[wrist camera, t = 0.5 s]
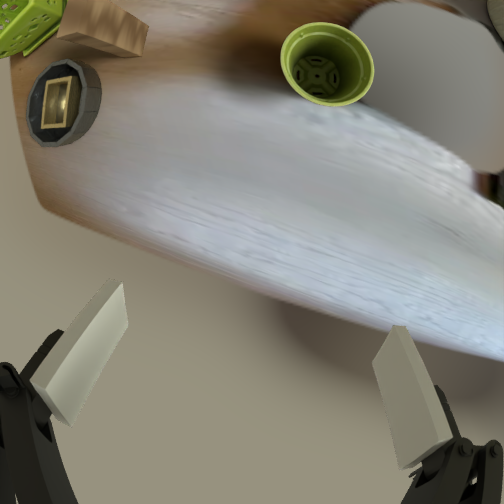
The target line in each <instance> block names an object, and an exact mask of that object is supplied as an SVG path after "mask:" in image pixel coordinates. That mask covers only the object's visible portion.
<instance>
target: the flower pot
mask: <svg viewBox="0 0 504 504" xmlns="http://www.w3.org/2000/svg"><path fill="white" fill-rule="evenodd" d="M67 2H68V0H0V25H2V26H3V29H1V30H0V59H1V58H5V57H8V56H11V55H14V54H16V53H19V52H21V51H23V55H24V56H27V55H29V54H30V53H31V52H32V51H34V50H35V49H36V48H37V47H38V46H39V45H41V44H42V43H43V42H44V41H45V40H46V39H48V38H49V37H50V36H51V35H53V34H54V33H55V32H56V31H57V30H59V26H60V23H61V20H62V17H63V13H64V11H65V8H66V5H67ZM4 4H7V5H8V6H7V7H5V8H4V9H3V8H2V6H3V5H4ZM13 5H17V6H18V7H17V8H15V9H14V10H12V9H10V8H11V7H12V6H13ZM3 15H4V16H3ZM6 19H7V20H9V23H7V22H5V20H6Z"/></svg>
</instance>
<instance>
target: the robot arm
mask: <svg viewBox="0 0 504 504" xmlns="http://www.w3.org/2000/svg"><path fill="white" fill-rule="evenodd" d="M127 327H128V320H127V313H126V307H125V299H124V291H123V283H122V282H121V281H116V280H112V279H108V280H107V281H106V283H105V284H104V285H103V286H102V287H101V288H100V290H99V291H98V292H97V293H96V294H95V295H94V296H93V298H92V299H91V300H90V301H89V302H88V304H87V305H86V306H85V307H84V308H83V310H82V311H81V312H80V313H79V314H78V316H77V317H76V318H75V320H74V321H73V322H72V323H71V325H70V326H69V327H68V328H67V330H66V331H65V332H64V331H62V330H59V329H58V330H56V331H55V332H53V333H52V334H50V335H49V336H48V337H47V338H46V340H45V341H44V342H43V345H41V346H40V348H39V349H38V351H37V352H35V354H34V355H33V357H32V358H31V359H30V361H29V362H28V363H27V365H26V366H25V368H24V369H23V370H22V372H21V373H20V374H18V372H17V371H16V369H15V368H14V366H12V364H10V363H8V362H1V363H0V504H16V498H15V494H16V497H17V500H18V503H19V504H78V502H77V499H76V498H75V495H74V492H73V490H72V487H71V485H70V482H69V480H68V477H67V474H66V471H65V469H64V466H63V462H62V459H61V457H60V453H59V450H58V446H57V443H56V439H55V435H54V431H53V427H52V423H51V420H50V416H51V414H53V415H54V416H55V418H56V419H57V420H58V421H61V422H62V423H64V424H66V425H68V426H70V427H73V425H74V423H75V420H76V419H77V417H78V415H79V413H80V410H81V409H82V407H83V405H84V403H85V401H86V399H87V397H88V395H89V393H90V392H91V390H92V388H93V386H94V384H95V382H96V380H97V379H98V377H99V375H100V373H101V371H102V370H103V368H104V366H105V364H106V363H107V361H108V359H109V357H110V356H111V354H112V352H113V350H114V348H115V347H116V345H117V344H118V342H119V340H120V339H121V337H122V335H123V334H124V332H125V330H126V329H127ZM372 365H373V369H374V372H375V375H376V379H377V382H378V385H379V389H380V392H381V396H382V399H383V403H384V407H385V411H386V414H387V418H388V422H389V426H390V430H391V434H392V439H393V443H394V448H395V452H396V457H397V461H398V465H399V470H403V469H407V468H412V467H414V466H416V465H417V464H418V463H420V462H422V467H420V468H419V469H417V470H416V471H414V472H412V473H411V474H410V475H409V478H410V477H412V476H414V475H415V474H416V476H415V477H414V478H413V482H412V484H411V486H410V488H409V489H408V491H407V493H406V495H405V497H404V498H403V500H402V502H401V504H500V502H501V492H502V480H503V449H502V446H501V444H500V443H499V442H498V441H496V440H491V441H489V442H488V443H487V444H486V445H484V446H475V445H473V444H472V442H471V441H470V440H469V439H467V438H464V437H463V438H462V437H461V435H460V433H459V430H458V427H457V425H456V422H455V419H454V417H453V414H452V412H451V411H450V407H449V404H447V399H446V397H445V395H444V393H443V391H442V390H441V389H440V388H439V387H438V385H433V384H432V381H431V379H430V377H429V374H428V372H427V370H426V368H425V366H424V363H423V361H422V359H421V357H420V355H419V353H418V350H417V348H416V346H415V344H414V342H413V340H412V338H411V336H410V334H409V332H408V330H407V328H406V326H396V325H393V327H392V329H391V331H390V333H389V334H388V336H387V338H386V340H385V341H384V343H383V345H382V347H381V348H380V350H379V352H378V354H377V355H376V357H375V358H374V360H373V362H372ZM476 477H477V482H476V483H475V484H472V480H473V479H474V478H476Z"/></svg>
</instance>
